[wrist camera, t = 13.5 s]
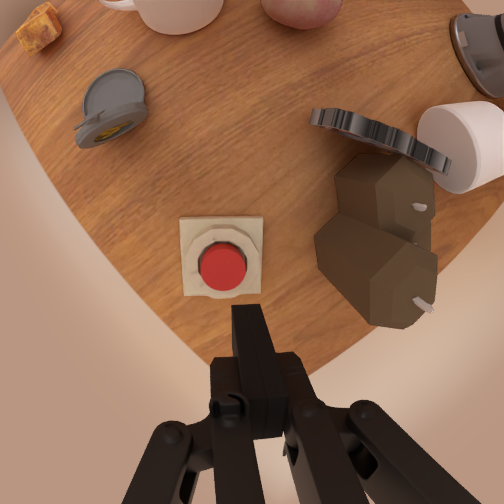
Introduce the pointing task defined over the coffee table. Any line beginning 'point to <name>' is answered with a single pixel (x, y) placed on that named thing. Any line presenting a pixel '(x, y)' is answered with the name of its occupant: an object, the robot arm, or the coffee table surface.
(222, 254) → the button
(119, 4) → the mug
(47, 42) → the pyrite
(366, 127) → the toy
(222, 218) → the housing
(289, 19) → the apple
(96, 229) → the coffee table surface
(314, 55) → the coffee table surface
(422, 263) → the candle
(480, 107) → the white cylinder
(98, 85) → the pocket watch
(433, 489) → the robot arm
